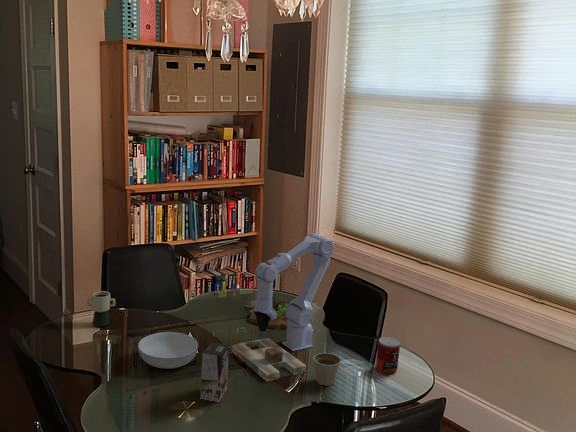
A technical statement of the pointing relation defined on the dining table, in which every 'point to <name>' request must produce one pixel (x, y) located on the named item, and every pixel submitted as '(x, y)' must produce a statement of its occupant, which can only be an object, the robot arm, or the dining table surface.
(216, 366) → the coffee box
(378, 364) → the canned food
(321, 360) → the flower pot
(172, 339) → the serving bowl
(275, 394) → the dining table surface
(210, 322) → the dining table surface
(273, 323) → the plant
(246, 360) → the cream slotted board
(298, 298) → the robot arm
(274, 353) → the walnut block
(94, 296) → the character mug
